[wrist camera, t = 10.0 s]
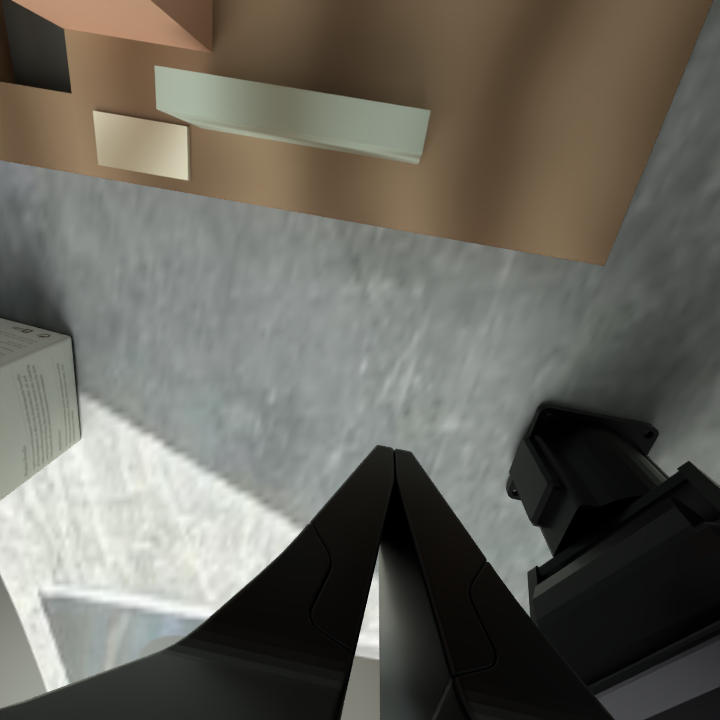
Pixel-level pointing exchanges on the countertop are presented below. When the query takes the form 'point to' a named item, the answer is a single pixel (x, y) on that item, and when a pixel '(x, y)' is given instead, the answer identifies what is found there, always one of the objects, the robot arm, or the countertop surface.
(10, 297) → the countertop surface
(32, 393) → the skincare box
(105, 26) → the block
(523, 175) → the tunnel deck
